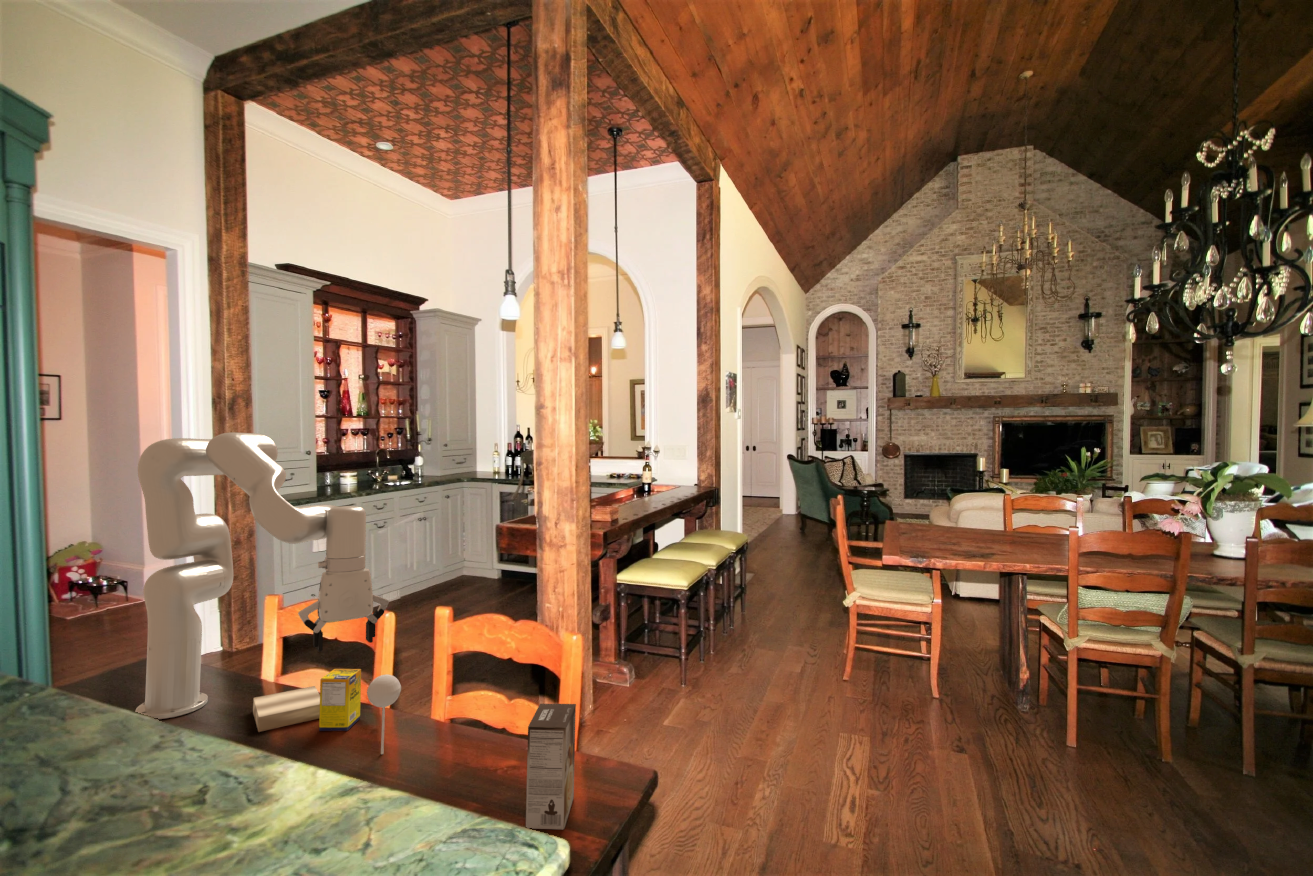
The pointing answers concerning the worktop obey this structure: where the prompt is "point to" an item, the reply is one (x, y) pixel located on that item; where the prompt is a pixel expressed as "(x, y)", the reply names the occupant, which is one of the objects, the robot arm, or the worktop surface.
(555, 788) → the coffee box
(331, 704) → the supplement box
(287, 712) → the block
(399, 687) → the lollipop
